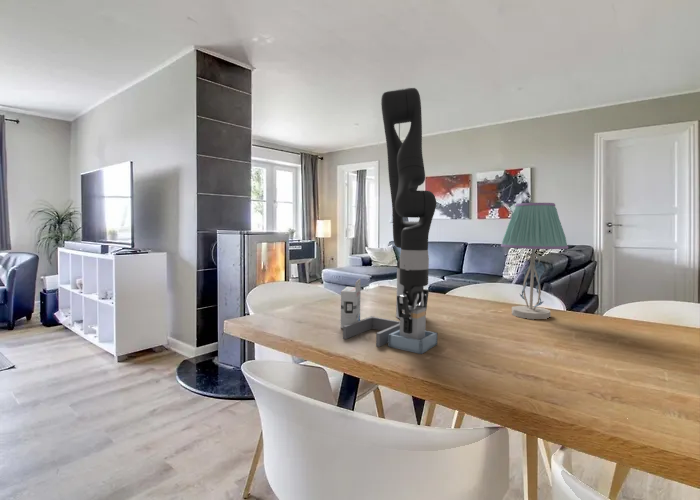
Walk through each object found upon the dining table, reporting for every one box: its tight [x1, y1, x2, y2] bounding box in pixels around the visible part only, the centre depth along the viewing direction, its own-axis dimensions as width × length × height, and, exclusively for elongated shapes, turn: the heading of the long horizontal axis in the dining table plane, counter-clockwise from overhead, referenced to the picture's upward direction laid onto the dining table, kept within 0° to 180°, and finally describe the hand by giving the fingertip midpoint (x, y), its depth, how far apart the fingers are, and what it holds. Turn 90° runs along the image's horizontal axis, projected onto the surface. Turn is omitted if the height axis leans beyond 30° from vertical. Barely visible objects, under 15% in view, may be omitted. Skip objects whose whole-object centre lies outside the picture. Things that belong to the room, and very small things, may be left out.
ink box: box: [340, 278, 362, 329], centre depth 119 cm, size 9×5×15 cm, turn 168°
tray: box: [387, 330, 438, 355], centre depth 100 cm, size 10×10×3 cm
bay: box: [342, 315, 400, 348], centre depth 108 cm, size 14×12×4 cm
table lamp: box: [500, 202, 569, 320], centre depth 134 cm, size 22×22×40 cm
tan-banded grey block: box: [399, 306, 427, 340], centre depth 100 cm, size 5×5×8 cm
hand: (412, 330), depth 100 cm, fingers closed on tan-banded grey block, 5 cm apart
